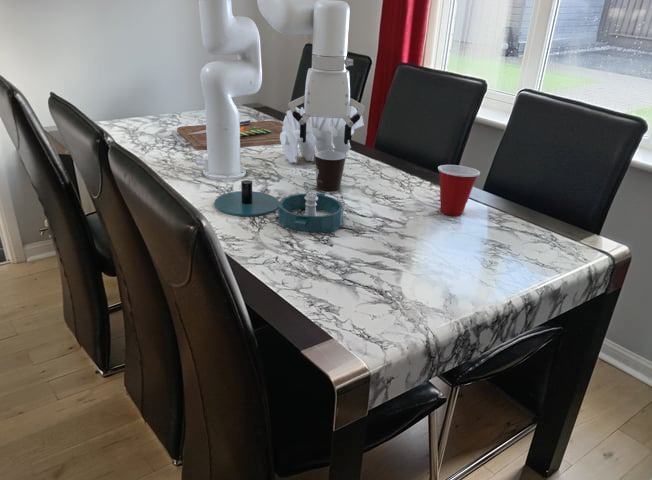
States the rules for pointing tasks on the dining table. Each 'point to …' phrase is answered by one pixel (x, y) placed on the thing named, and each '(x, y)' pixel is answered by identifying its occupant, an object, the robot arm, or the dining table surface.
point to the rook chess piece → (310, 204)
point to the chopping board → (249, 134)
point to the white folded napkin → (315, 135)
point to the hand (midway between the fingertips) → (324, 142)
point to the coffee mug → (329, 170)
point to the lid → (246, 202)
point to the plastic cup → (455, 187)
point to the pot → (310, 222)
